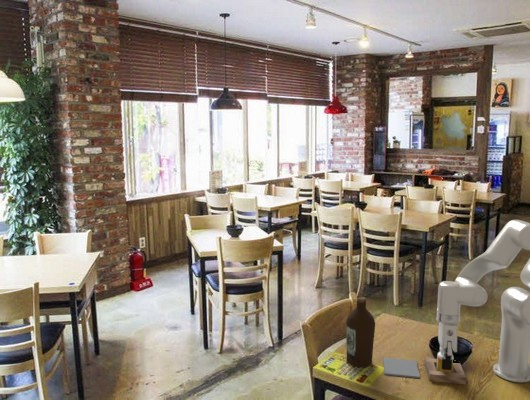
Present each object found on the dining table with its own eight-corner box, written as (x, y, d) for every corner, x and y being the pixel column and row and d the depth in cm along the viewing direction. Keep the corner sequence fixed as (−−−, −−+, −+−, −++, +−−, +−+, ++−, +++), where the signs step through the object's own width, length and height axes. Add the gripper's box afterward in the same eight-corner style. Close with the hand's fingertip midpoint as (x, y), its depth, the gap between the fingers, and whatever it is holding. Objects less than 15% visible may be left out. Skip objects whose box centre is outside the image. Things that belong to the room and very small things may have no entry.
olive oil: (364, 353, 183) (367, 291, 179) (379, 366, 173) (381, 301, 169) (340, 357, 180) (341, 294, 176) (353, 370, 170) (355, 304, 166)
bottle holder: (458, 367, 173) (459, 360, 172) (465, 384, 161) (466, 377, 161) (424, 364, 175) (424, 357, 174) (429, 380, 163) (429, 374, 163)
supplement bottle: (453, 378, 165) (455, 352, 163) (437, 376, 166) (439, 350, 164) (450, 371, 170) (452, 345, 169) (435, 369, 171) (436, 344, 170)
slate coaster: (415, 362, 176) (415, 360, 176) (419, 378, 165) (419, 376, 165) (383, 358, 179) (383, 357, 179) (384, 374, 167) (384, 373, 167)
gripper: (464, 327, 156) (461, 378, 158) (454, 308, 172) (451, 355, 175) (440, 325, 157) (437, 376, 160) (433, 307, 174) (430, 353, 176)
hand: (444, 364), depth 167 cm, fingers closed on supplement bottle, 5 cm apart
